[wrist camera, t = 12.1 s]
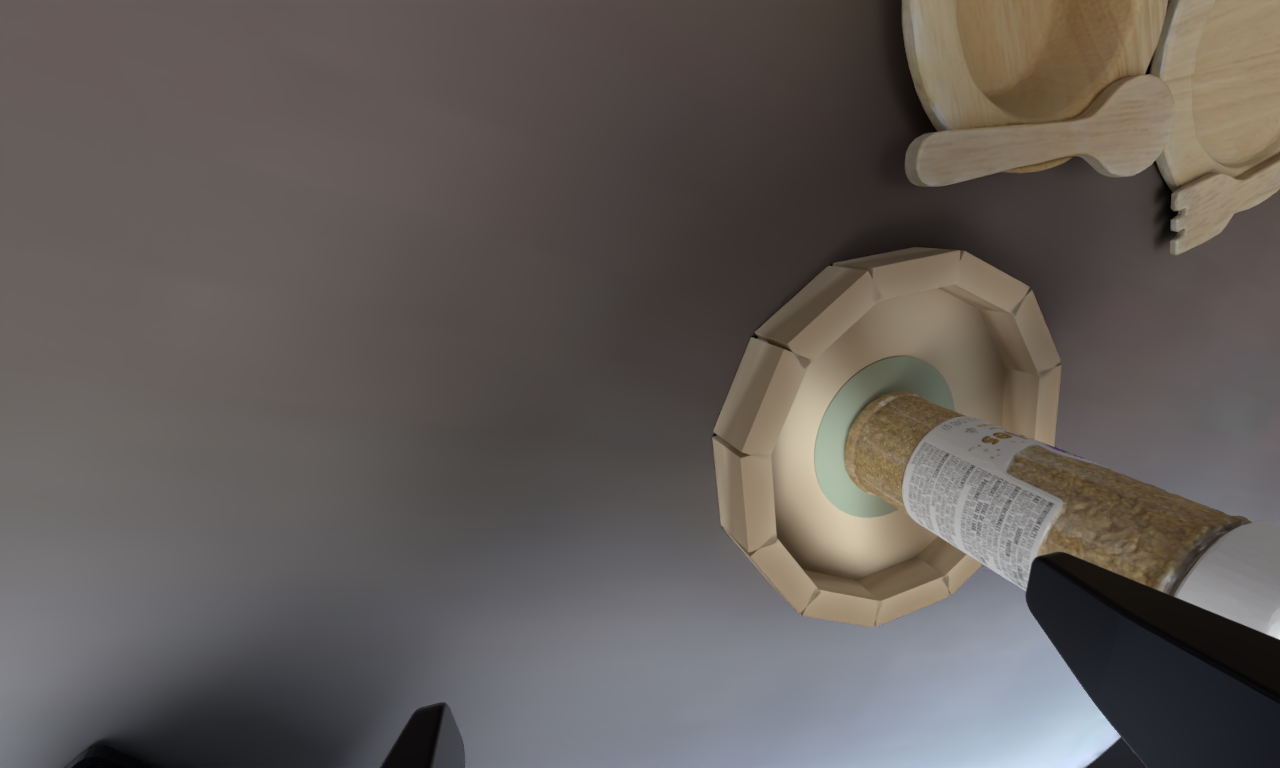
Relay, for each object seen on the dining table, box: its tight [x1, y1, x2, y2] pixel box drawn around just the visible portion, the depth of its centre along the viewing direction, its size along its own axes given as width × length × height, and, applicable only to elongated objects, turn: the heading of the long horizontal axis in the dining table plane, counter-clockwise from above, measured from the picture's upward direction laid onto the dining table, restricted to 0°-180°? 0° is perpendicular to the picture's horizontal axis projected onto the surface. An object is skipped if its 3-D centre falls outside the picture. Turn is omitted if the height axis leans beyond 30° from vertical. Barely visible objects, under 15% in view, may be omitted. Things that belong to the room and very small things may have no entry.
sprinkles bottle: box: [844, 391, 1280, 639], centre depth 19 cm, size 5×5×14 cm
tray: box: [712, 247, 1062, 627], centre depth 25 cm, size 15×15×2 cm
